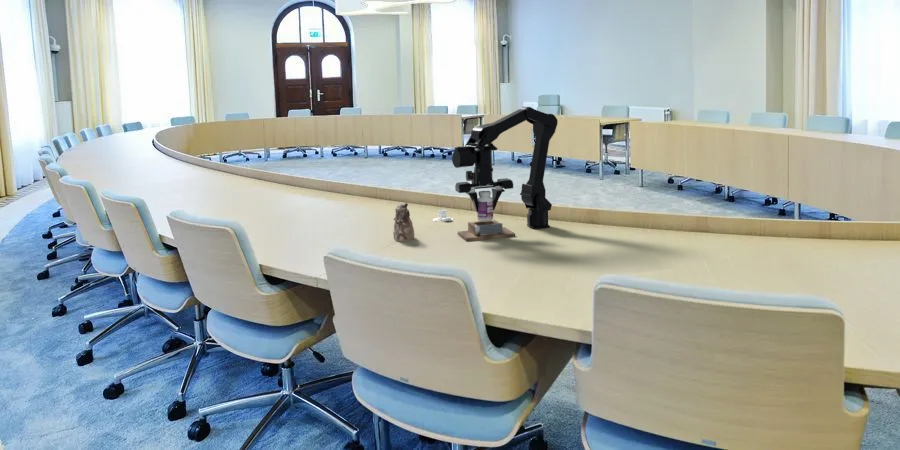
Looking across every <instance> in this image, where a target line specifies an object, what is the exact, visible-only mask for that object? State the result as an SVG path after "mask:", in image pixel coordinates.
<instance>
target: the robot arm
mask: <svg viewBox="0 0 900 450" xmlns="http://www.w3.org/2000/svg"><path fill="white" fill-rule="evenodd" d="M525 121H526V122H528V123H529V124H531V125H532V132H533V135H534V138H535V139H534V145H533V151H532V158H531V165H530V172H529V178H528V180H527V182H526V183H522V184H521V190H520V194H519V195H520V198H521V201H522V202H523V203H524V206H525V208H526V209H528V213H526V215H527V216H526V219H527V220H526V226H527V227H529V228H531V229H544V228H545V229H546V228H551V225H550V224H549V211H551V209H552V206H553V204H552V203H551V202H550V201H549V200H548V199H547V198H546V190H547V189H546V188H545V184H544V177H545V171H546V166H547V158H548V152H549V145H550V141H551V139H552V138H553V136H554V135H555V133H556V131H557V126H558V118H557V117H556V115H555V114H552V113H545V112H543V111H539V110H538V109H535V108H533V107H532V106H521V107H520V108H518V109H517V110H515V111H513V112H512V113H509V114H508V115H505V116H503V117H501V118H499V119H498V120H495V121H494V122H491V123H485V124H481V125H478V126H475V127H473V128H472V130H471V133H470V137H469V138H468V140H467V141H466V144H465V145H464V146H455V147H454V151H453V153H452V156H451V161H452V164H453V166H454V168H456V169H457V168H459V169H460V168H467V167H473V166H474V168H473V170H474V171H472V170H466V171H465V181H459V182H458V181H457V182H456V183H455V186H454V188H455V192H457V193H459V194H467V195H468V196H469V198H470V200H471V202H472V205H473V207H474V210H475V212H476V213H477V212H478V198H479V197H478V192H477V191H476V190H477V189H478V190H479V189H481V190H482V189H490V188H491V194H492V196H491V198H492V199H493V211H495V210H496V207H497V204H498V201H499V200H500V197H501V196H502V194H503V193H504V192H506V190H508V189H509V190H511V189H514V182H513V180H512V179H510V178H497V180H496V181H494V179H493V172H494V168H493V156H492V155H493V154H492V153H493V152H492V151H497V150H498V147H497V146H496V145H494V143H493V142H494V141H495V140H497V139H498V138H499V136H500V135H502V134H503V133H504V132H506V131H508V130H511V129H512V128H513V127H516V126H517V125H520V124H522V123H524V122H525ZM469 181H470V182H471V183H470V182H469Z"/></svg>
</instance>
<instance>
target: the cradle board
mask: <svg viewBox="0 0 900 450" xmlns="http://www.w3.org/2000/svg"><path fill="white" fill-rule="evenodd" d="M496 223H500V222H499V221H497V220H496V219H493V220H490V221H479V220H478V221H468V222H467V229H468V230H460V231H459V230H458V231H457V235H458V236H459V237H460V238H462V240H463V241H465V242H473V241H481V240H482V241H484V240H492V239H494V240H495V239H504V238H512V237H516V233H515V232H513V230H510V228H507V227H506V226H502V229H503V232H502V233H492V234H482V235H475V225H486V224H496Z"/></svg>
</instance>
